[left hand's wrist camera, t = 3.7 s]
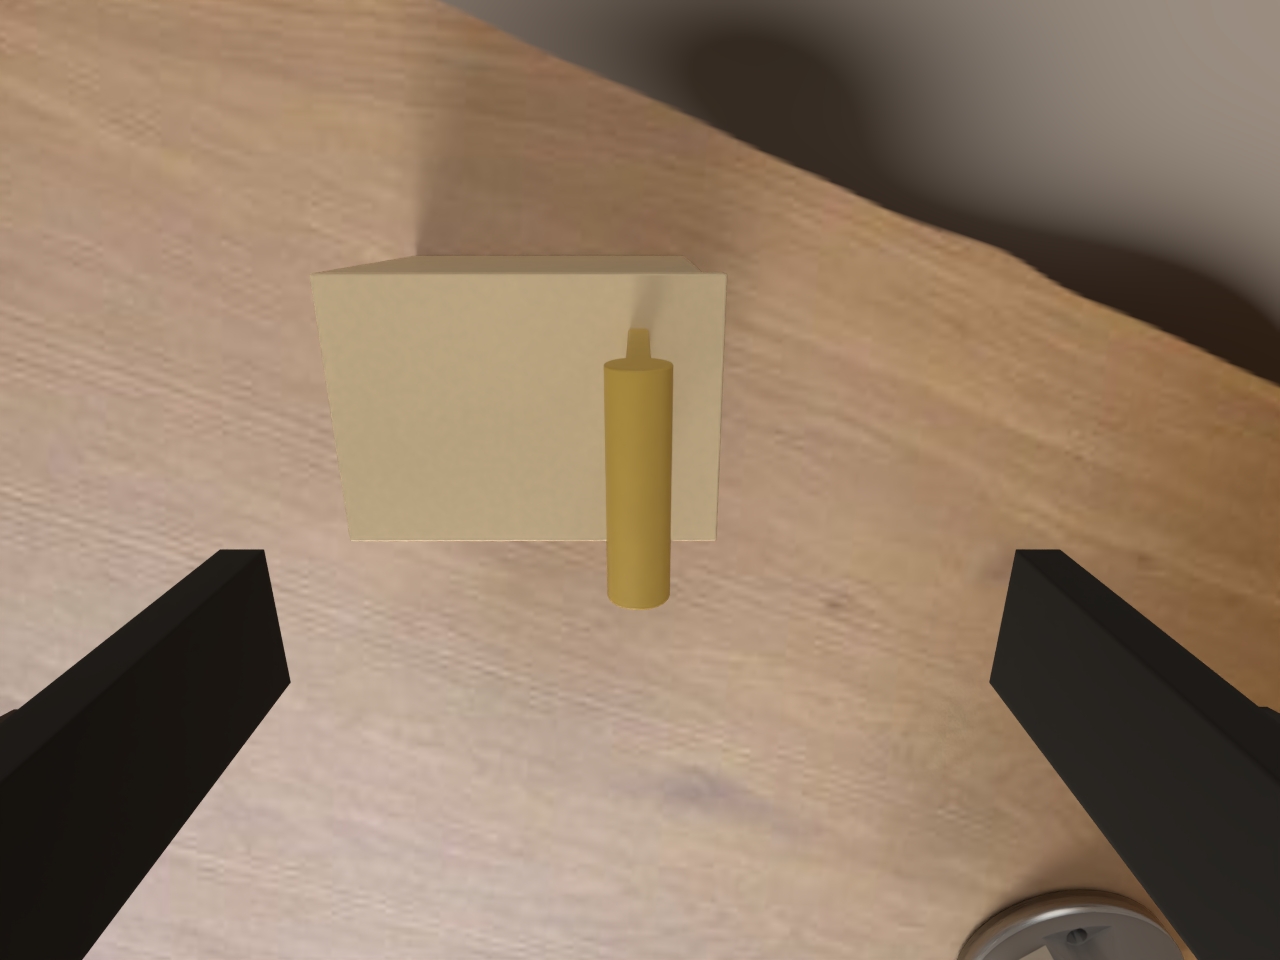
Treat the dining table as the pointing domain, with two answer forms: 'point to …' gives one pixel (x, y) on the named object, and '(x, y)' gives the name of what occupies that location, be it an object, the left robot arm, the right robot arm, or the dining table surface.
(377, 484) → the lid
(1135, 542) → the dining table surface
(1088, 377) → the dining table surface
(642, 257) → the chest
